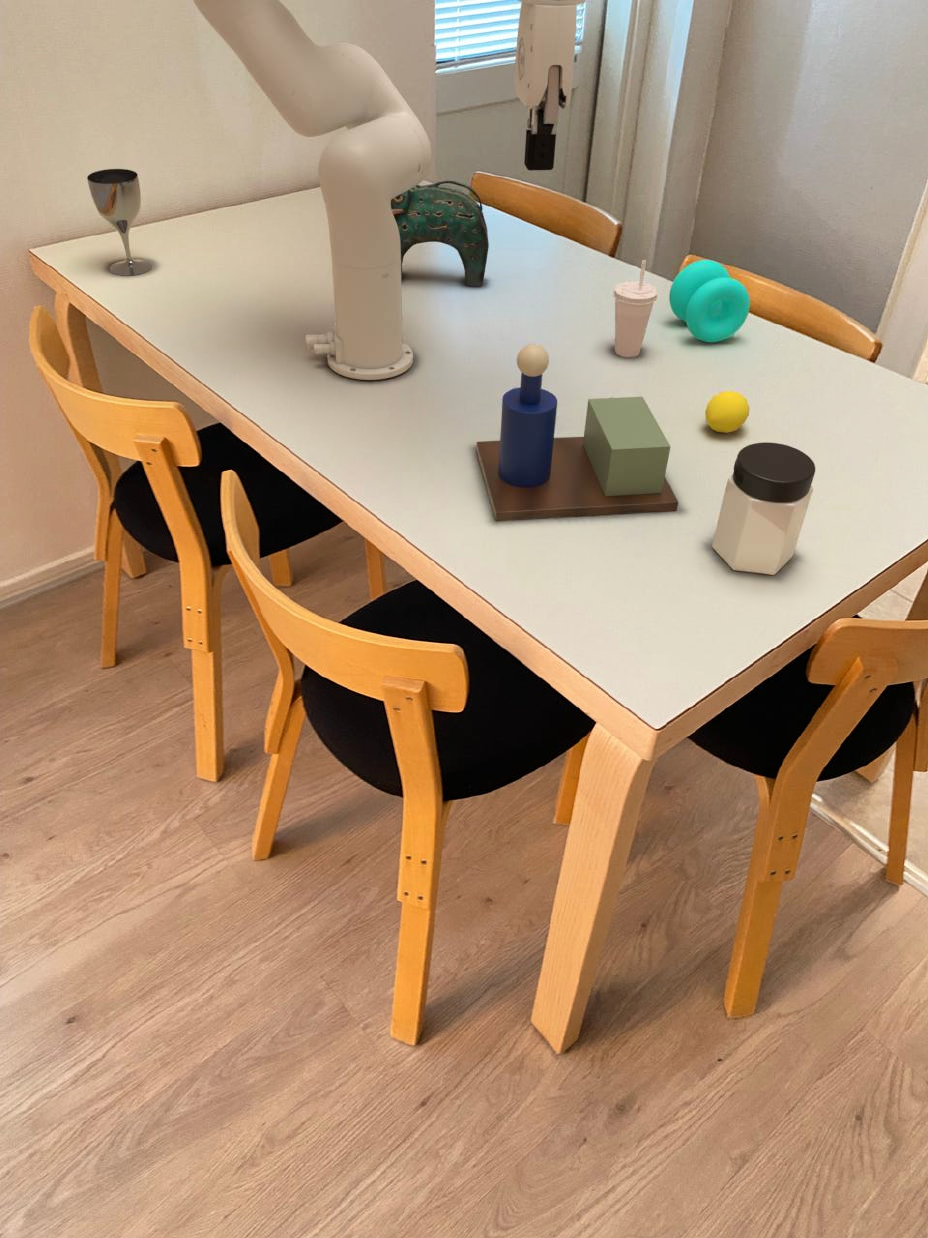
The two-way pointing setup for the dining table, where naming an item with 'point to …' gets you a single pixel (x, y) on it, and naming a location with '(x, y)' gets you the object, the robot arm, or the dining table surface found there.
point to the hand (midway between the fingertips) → (538, 167)
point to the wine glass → (119, 210)
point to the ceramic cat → (444, 224)
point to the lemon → (727, 411)
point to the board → (562, 488)
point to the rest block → (625, 446)
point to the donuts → (709, 301)
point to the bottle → (528, 424)
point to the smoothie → (632, 314)
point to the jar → (764, 507)
